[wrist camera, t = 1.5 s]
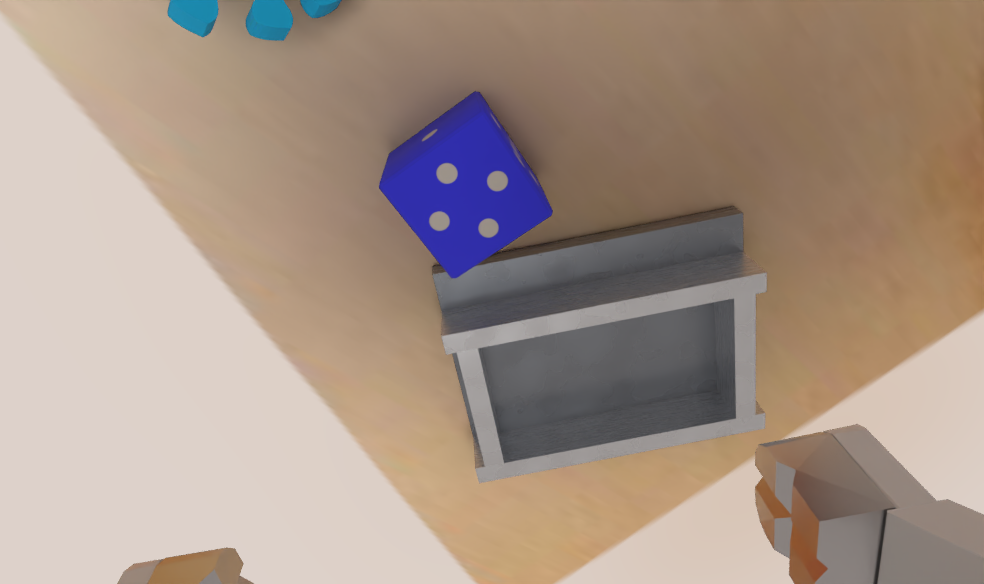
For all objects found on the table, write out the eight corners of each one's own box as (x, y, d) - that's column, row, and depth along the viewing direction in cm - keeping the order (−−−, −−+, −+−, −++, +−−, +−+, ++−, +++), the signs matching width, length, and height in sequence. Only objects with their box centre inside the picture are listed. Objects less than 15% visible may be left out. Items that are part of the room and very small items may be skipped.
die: (477, 88, 28) (483, 109, 23) (538, 179, 30) (555, 214, 25) (387, 154, 29) (376, 186, 24) (451, 238, 31) (453, 281, 26)
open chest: (734, 206, 31) (767, 231, 28) (737, 417, 36) (764, 458, 33) (432, 266, 31) (431, 298, 28) (482, 466, 37) (486, 511, 34)
